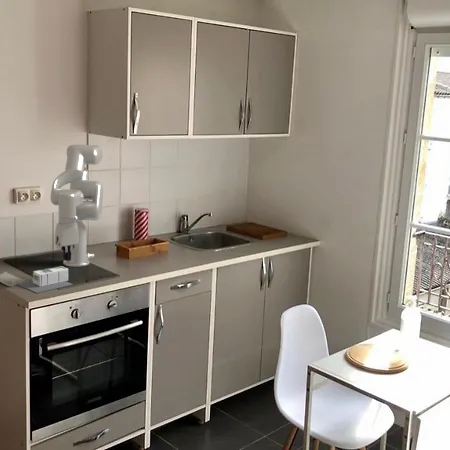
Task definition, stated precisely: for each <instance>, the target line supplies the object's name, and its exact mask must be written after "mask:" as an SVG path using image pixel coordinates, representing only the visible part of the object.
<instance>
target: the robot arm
mask: <svg viewBox="0 0 450 450" xmlns="http://www.w3.org/2000/svg"><path fill="white" fill-rule="evenodd" d="M102 159H103V149H102V147H101V146H100V145H94V144H93V145H91V144H70V145H69V146H67V148H66V163H65V170H64V171H62V173H60V174H59V175H58V176H57V177H56V178H55V179H54V181H53V183H52V186H51V191H50V202H51V204H53V205H54V206H57V207H58V222H57V223H56V227H55V231H54V233H55V234H54V244H55V245H56V247H55V248H56V249H57V250H61V251H62V252H63V254H62V255H63V262H62V264H63V265H64V266H67V267H74V268H78V267H85V266H88V265H90V260H89V259H91V258H95V253H87V234H88V233H87V227H86V225H85V224H84V222H83V221H98V220H100V219H101V217H102V210H103V198H104V197H103V196H104V188H103V187H104V186H103V184H102V183H101V182H100V181H98V180H89V177H90V174H89V173H90V172H89V170H88V168H87V167H86V165H94V166H95V165H98V164H100V162H101V161H102ZM68 184H69V188H68V189H67V188H66V189H64V188H63V189H62V187H64V186H65V185H68Z"/></svg>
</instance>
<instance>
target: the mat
mask: <svg viewBox="0 0 450 450" xmlns="http://www.w3.org/2000/svg"><path fill="white" fill-rule="evenodd" d="M16 285H17V286H19V287H22V288H24V289H26V290H29V291H31V292H33V293H34V294H40V293H45V292H48V291H54V290H59V289H62V288H67V287H72V286H73V285H74V283H71V282H68V281H64V282H60V283H55V284H50V285H46V286H41V287H40V286H38V285H36V284H34V283H33V279H30V280H26V281H21V282H17V283H16Z"/></svg>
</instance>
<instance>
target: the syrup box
mask: <svg viewBox="0 0 450 450" xmlns="http://www.w3.org/2000/svg"><path fill="white" fill-rule="evenodd" d="M32 280H33V283H34V284H36V285H38V286H40V287H41V286H46V285H50V284H55V283H60V282H64V281H66V282H68V281H69V268H67V267H64V266H62V265H59V266H55V267H48V268H44V269H43V268H42V269H38V270H33V271H32Z"/></svg>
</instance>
